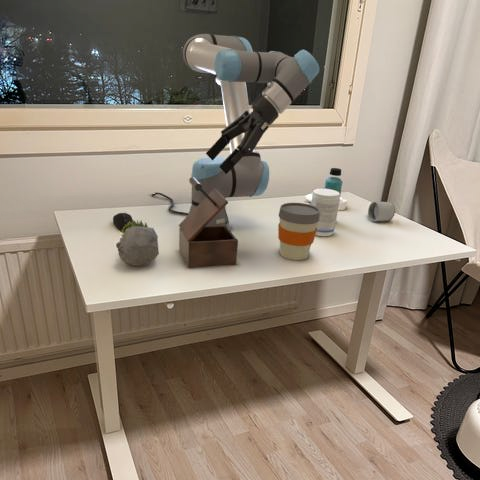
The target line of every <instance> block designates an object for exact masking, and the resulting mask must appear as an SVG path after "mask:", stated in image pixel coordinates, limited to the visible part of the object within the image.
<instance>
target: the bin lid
mask: <svg viewBox="0 0 480 480" xmlns="http://www.w3.org/2000/svg"><path fill="white" fill-rule="evenodd" d="M188 181H189V184H190V185H191V187H192V186H193V187H194V188H195V190H197V191H201V192H202V193H203V194H204V195H205V196H206V197H205V198H204V199H203V201H202V202H201V203H200V204H199V205H198V206H197V207H196V208H195V209H194V210H193V211H192V212H191V213H190V214H189V215H186V217H185V218H184V219H183V220H182V221H181V222H180V223H179V224H178V226H179V228H181V230H182V232H183V233H184V235H185V236H186V238H187V240H188V241H189V242H191V241H192V240H193V239H194V237H195V236H196V235H197V234H198V233H199V232H200V231H201V230H202V229H203V228H204V227H205V226H206V225H207V224H208V223H209V222H210V221H211V220H212V219H213V218H214V217H215V216H216V215H217V214H218V213H219V212H220V211H221V210H222V209H223V208H224V207H225V208H226V206H227V205H228V204H229V201H228V200H227V198H226V199H225V198H224V197H223V196H222V195H221V194H220V193H219V192H218V191H217V190H216V189H215V188H214V189H213V190H212V191H211V192H210V193H209V194H207V193H206V192H205V191H204V190H203V189H202V185H201V184H200V183H199V182H198V181H197V180H196V179H195V178H194V177H191V176H190V177H189V179H188Z"/></svg>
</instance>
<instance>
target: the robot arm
mask: <svg viewBox="0 0 480 480" xmlns="http://www.w3.org/2000/svg"><path fill="white" fill-rule="evenodd" d="M182 57H183V61H184V63H185V64H186V66H187V67H188V69H190V70H192V71H194V72H197V73H200V74H201V73H202V74H208V75H210V74H211V75H214V77H215V83H217V85H219V86H220V89H221V95H222V104H223V109H224V116H225V123H226V127H225V128H223V129H222V130H221V131H220V134H221V136H220V137H219V138H218V139H217V140H216V141H215V142H214V143H213V145H212V146H211V147H210V148H209V149H208V150H207V151H206V152H205V154H206V157H201V158H199V159H197V160H195V161H194V162H193V163H192V168H191V175H190V178H191V177H194V178H195V179H196V180H197V181H198V182H199V183H200V184H201V185H202V189H203V190H204V191H205V192H206V193H207V194H209V193H210V192H211V191H212V190H213V189H214V188H215V189H216V190H217V191H218V192H219V193H220V194H221V195H222V196H223V197H224V198H225V199H226V200H227V198H244V197H245V198H246V197H249V198H252V197H258V196H261V195H263V194H264V193H265V192H266V190H267V188H268V185H269V182H270V181H269V180H270V167H269V164H268V162H266V161H265V160H262V159H261V158H262V157H261V153H260V152H259V151H257V150H256V147H257V145H258V144H259V142H260V141H261V139H262V137H263V136H264V134H265V132H266V131H267V130H268V129H269V126H272V124H273V123H274V122H275V121H276V120H277V119H278V118H279V115H280V114H281V115H282V114H283V113H284V112H285V111H286V110H287V108H289V106H290V105H291V104H292V102H294V101H295V100H296V99H297V98H298V96H299V95H300V94H301V93H303V91H305V89H306V88H307V87H308V86H309V85H310V84H311V83H312V82H313V80H314V79H315V78H316V77H317V75H319V73H320V66H319V64H318V61H317V60H316V58H315V57H314V56H313V54H312V53H310V52H309V51H308V50H305V49H300V50H299V51H298V52H297V53H296V54H294V56H289V55H288V54H286V53H283V52H281V51H276V50H270V51H269V52H265V51H253V47H252V44H251V43H250V42H249V40H248V39H246V38H245V37H242V36H238V35H222V34H210V33H199V34H196V35H194V36H191V37H190V38H189V39H187V41H186V42H185V44H184V46H183V48H182ZM247 83H255V84H257V83H258V84H266V87H265V88H264V89H263V90H262V92H261V94H259V95H258V96H257V97H256V98H255V99H254V100H253V101H252V102H251V104H249V98H248V97H249V96H248V90H247ZM250 106H251V109H252V111H251V112H250ZM228 145H229V152H230V154H229V155H228V156H227V157H224V156H219V155H220V154H221V152H222V151H223V150H224V149H226V147H227V146H228ZM154 193H155V194H153V193H152V194H151V197H154V196H156V195H158V196H161V197H163V198H166V199H167V200H169V201H170V202H171V205H170V206H169V207H168V210H169V212H171V213H174V214H177V215H178V214H179V215H184V216H188V215H189V214H190V213H191V212H192V211H193V210H194V209H195V208H196V207H197V206H198V205H199V204H200V203H201V202H202V201H203V199H204V198H205V197H206V196H205V195H204V194H203V193H202V192H201V191H197V190H195V188H194V187H193V186H192V185H191V202H190V203H191V204H190V208H189V211H188V212H184V211H177V210H174V209H172V208H173V207H174V205H175V201H174V199H173V198H171V197H170V196H168V195H166V194H164V193H162V192H154ZM227 212H228V211H227V209H226V206H225V207H224V208H223V209H222V210H221V211H220V212H219V213H218V214H217V215H216V216H215V217H214V218H213V219H212V220H211V221H210V222H209V223H208V224H207V225H206V226H225V225H226V227H227V228H228V229H229V230H230V220H229V216H228V213H227Z"/></svg>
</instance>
